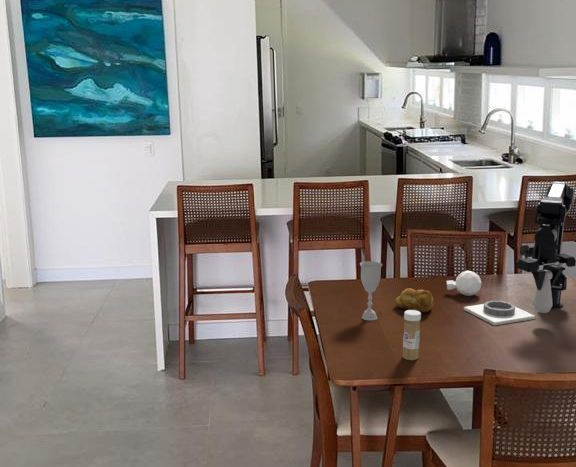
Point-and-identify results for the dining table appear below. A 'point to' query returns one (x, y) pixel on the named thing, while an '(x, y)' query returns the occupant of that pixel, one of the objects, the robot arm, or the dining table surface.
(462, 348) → the dining table surface
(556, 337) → the dining table surface
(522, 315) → the ring holder
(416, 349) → the sprinkles bottle
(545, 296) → the salt shaker
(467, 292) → the perfume bottle
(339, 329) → the dining table surface
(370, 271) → the chalice
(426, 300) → the bread roll
